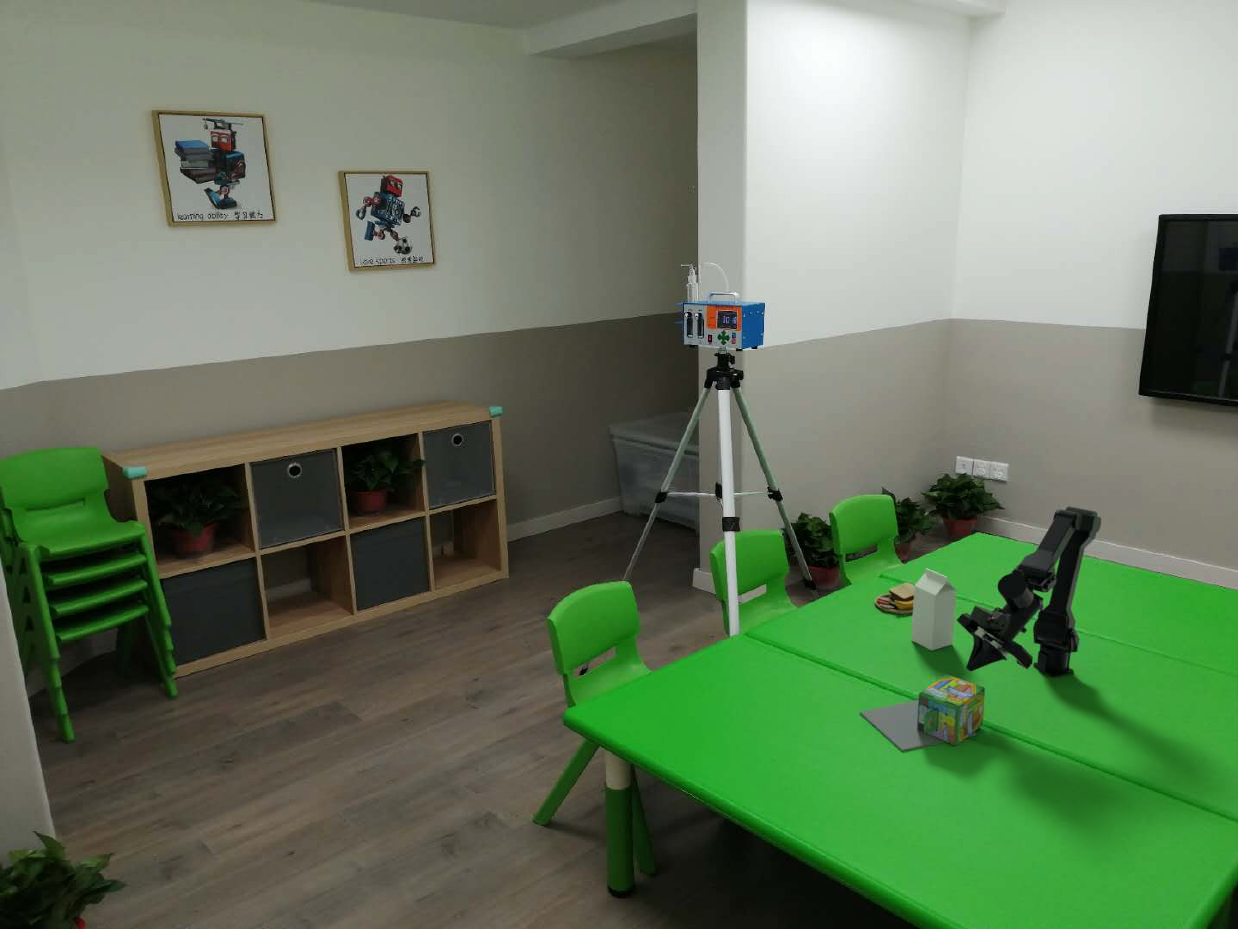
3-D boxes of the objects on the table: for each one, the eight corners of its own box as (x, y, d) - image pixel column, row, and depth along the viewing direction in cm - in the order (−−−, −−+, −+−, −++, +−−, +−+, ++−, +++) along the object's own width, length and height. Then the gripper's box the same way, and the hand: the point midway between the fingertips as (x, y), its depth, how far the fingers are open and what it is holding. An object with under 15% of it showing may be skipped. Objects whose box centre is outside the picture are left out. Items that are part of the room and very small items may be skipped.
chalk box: (983, 725, 199) (949, 754, 189) (943, 710, 205) (908, 737, 195) (986, 686, 196) (951, 713, 186) (945, 672, 203) (909, 698, 193)
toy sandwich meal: (865, 600, 265) (866, 585, 264) (908, 594, 268) (909, 579, 267) (889, 618, 253) (890, 602, 252) (933, 612, 256) (934, 595, 255)
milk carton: (931, 651, 233) (936, 580, 228) (910, 640, 239) (915, 570, 234) (952, 645, 236) (957, 574, 231) (931, 634, 242) (936, 565, 237)
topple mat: (930, 699, 211) (930, 697, 210) (976, 735, 196) (976, 733, 196) (859, 713, 205) (859, 711, 205) (902, 751, 191) (902, 749, 191)
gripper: (966, 578, 207) (920, 632, 207) (1026, 610, 190) (976, 669, 190) (993, 606, 211) (948, 658, 211) (1054, 640, 194) (1005, 697, 194)
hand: (968, 669), depth 201 cm, fingers closed
